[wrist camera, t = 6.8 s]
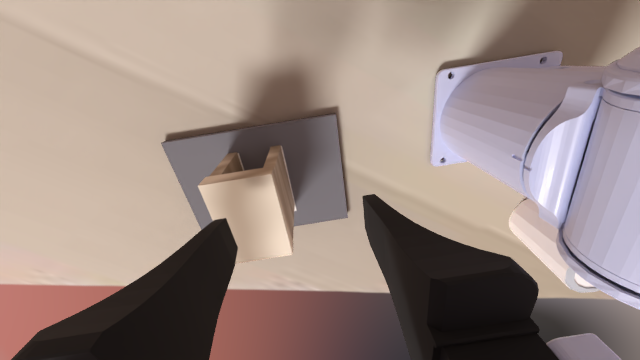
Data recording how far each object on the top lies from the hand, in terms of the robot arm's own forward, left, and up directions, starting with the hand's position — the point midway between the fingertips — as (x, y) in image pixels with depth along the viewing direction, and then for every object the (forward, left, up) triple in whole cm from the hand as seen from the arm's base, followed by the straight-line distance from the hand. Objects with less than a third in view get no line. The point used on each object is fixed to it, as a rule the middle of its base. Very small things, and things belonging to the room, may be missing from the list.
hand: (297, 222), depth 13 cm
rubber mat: (+4, +2, -9) cm, 10 cm away
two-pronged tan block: (+4, +1, -9) cm, 9 cm away
